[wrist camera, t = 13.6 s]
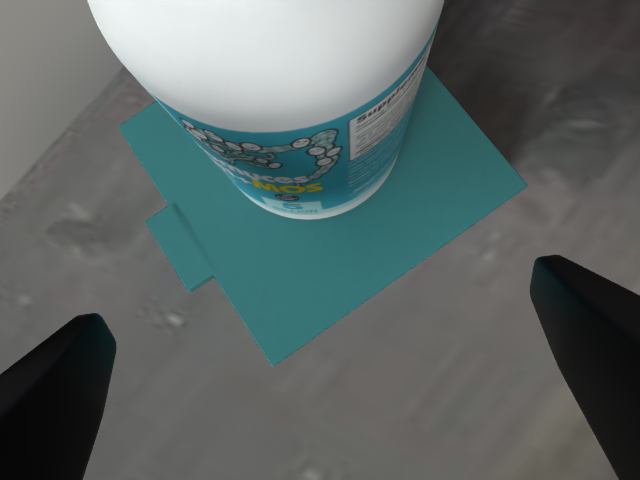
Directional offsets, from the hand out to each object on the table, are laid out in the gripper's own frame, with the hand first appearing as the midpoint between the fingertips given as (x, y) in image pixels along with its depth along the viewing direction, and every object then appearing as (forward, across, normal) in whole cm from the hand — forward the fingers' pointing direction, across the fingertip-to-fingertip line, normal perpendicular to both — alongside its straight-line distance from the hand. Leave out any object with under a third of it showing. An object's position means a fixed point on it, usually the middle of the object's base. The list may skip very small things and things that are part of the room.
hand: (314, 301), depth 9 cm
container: (+13, 0, +4) cm, 14 cm away
